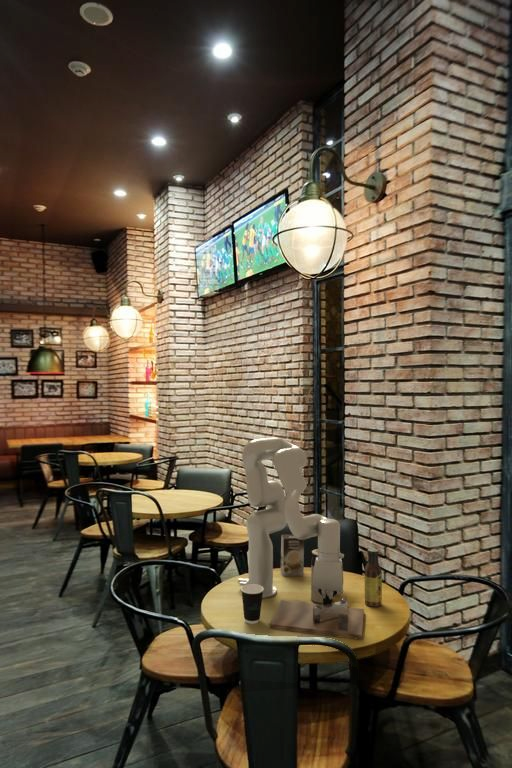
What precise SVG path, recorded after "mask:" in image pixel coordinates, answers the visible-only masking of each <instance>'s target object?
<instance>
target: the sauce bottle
mask: <svg viewBox="0 0 512 768" xmlns="http://www.w3.org/2000/svg"><path fill="white" fill-rule="evenodd" d="M379 554H380V553H379V550H378V549H376V548H368V549H367V563H366V565H365V568H364V603H365V605H366V606H368V607H374V608H375V607H376V608H377V607H380V606H381V605H382V600H383V591H382V590H383V588H382V587H383V584H382V583H383V579H382V578H383V576H382V573H383V572H382V569H381V566H380V563H379Z"/></svg>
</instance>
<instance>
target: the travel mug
mask: <svg viewBox="0 0 512 768" xmlns="http://www.w3.org/2000/svg"><path fill="white" fill-rule="evenodd" d="M311 553H312V557H311V559H310V565H311V566H310V568H311V569H310V572H311V573H310V599H311V601H313V603H314V602H315V603H316V604H323V597H322V595H321V594H320V593H319V592H317V591H315V590H313V589H312V588H313V575H314V565H315V560H316V557H318V548H317V549H313V550H311ZM326 591H327V595H328V596H329V594H330V590H326Z"/></svg>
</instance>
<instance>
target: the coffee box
mask: <svg viewBox="0 0 512 768" xmlns="http://www.w3.org/2000/svg"><path fill="white" fill-rule="evenodd" d="M280 537H281V540H280V542H281V543H280V545H281V546H280V573H281V575H282V576H283V577H298V576H300V577H301V576H304V567H305V566H304V563H305V561H304V560H305V557H304V556H305V555H304V554H305V539H304V540H300V539H297V538H296V537H295V536H294V535H293V534H281V536H280Z"/></svg>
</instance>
